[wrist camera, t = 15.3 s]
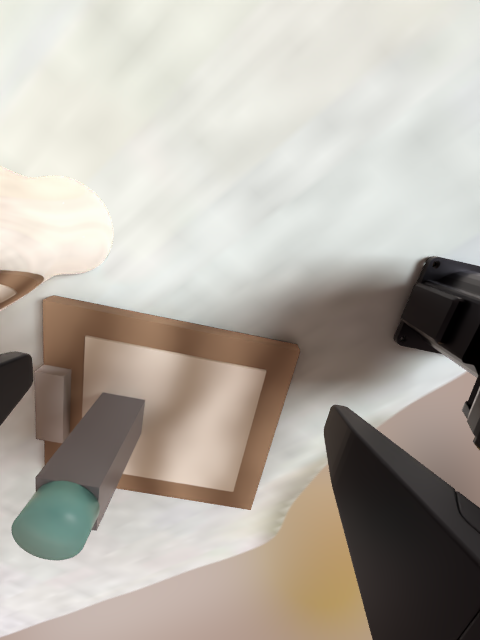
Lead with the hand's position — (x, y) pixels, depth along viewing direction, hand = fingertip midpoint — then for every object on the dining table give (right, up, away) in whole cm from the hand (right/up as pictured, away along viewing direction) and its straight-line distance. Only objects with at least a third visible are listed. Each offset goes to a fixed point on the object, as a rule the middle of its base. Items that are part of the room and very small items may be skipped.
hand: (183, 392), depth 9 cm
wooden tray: (-4, -5, +15) cm, 17 cm away
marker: (-7, -5, +14) cm, 17 cm away
